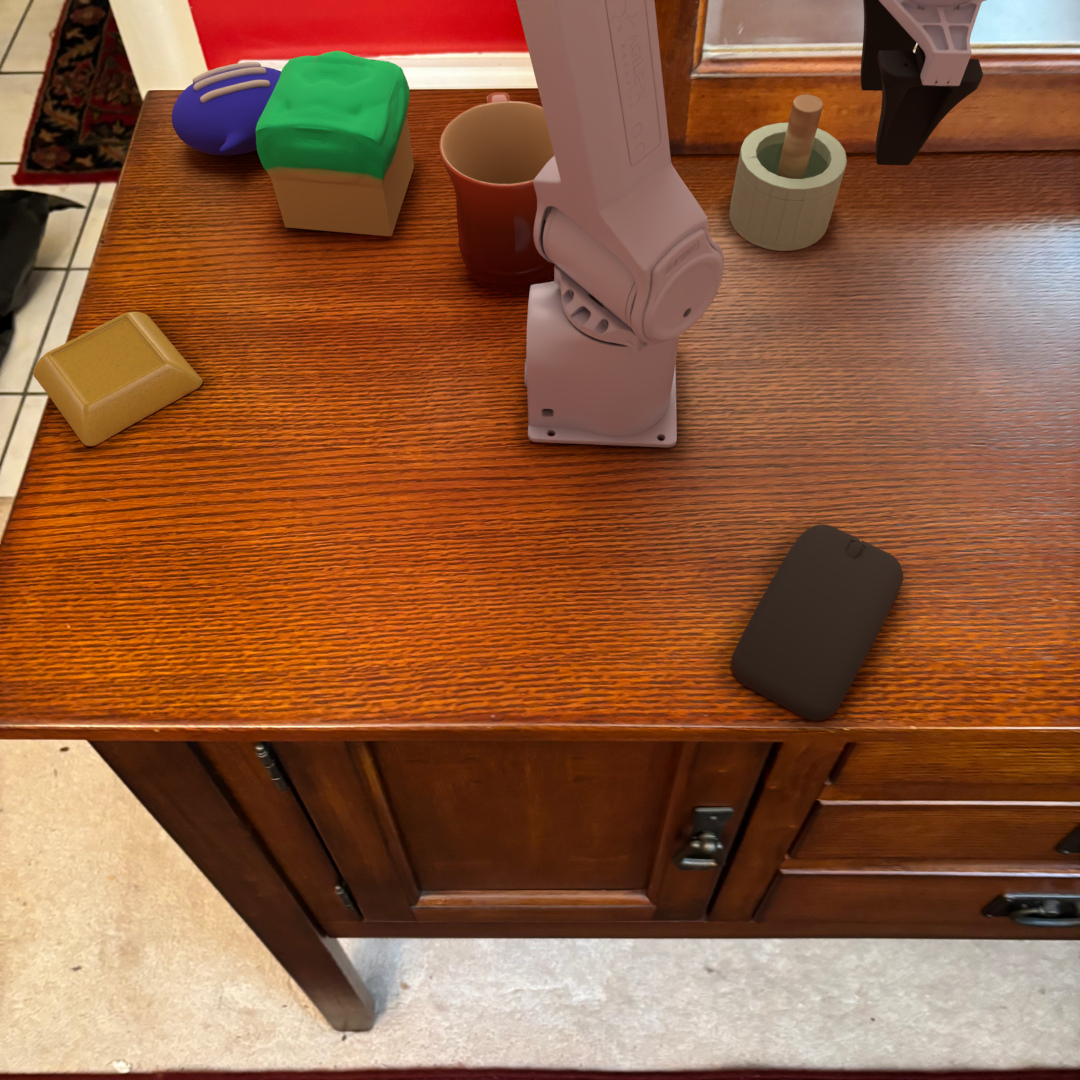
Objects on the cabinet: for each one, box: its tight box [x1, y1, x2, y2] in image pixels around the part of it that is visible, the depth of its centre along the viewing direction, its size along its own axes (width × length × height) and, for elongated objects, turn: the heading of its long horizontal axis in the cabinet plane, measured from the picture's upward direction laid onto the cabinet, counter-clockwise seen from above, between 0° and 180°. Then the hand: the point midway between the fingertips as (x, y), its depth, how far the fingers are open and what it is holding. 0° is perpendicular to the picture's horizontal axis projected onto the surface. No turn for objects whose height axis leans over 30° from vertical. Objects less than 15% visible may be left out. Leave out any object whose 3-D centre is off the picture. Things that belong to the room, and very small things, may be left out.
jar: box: [728, 122, 848, 252], centre depth 71 cm, size 7×7×6 cm
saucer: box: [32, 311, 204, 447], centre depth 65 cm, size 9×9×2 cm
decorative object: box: [171, 61, 282, 156], centre depth 76 cm, size 10×6×10 cm
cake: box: [256, 50, 415, 238], centre depth 71 cm, size 10×11×10 cm
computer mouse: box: [730, 524, 904, 722], centre depth 54 cm, size 6×11×4 cm, turn 148°
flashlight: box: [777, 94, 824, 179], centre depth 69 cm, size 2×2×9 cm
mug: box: [438, 91, 555, 294], centre depth 68 cm, size 12×9×10 cm
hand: (884, 123), depth 63 cm, fingers open, 7 cm apart
